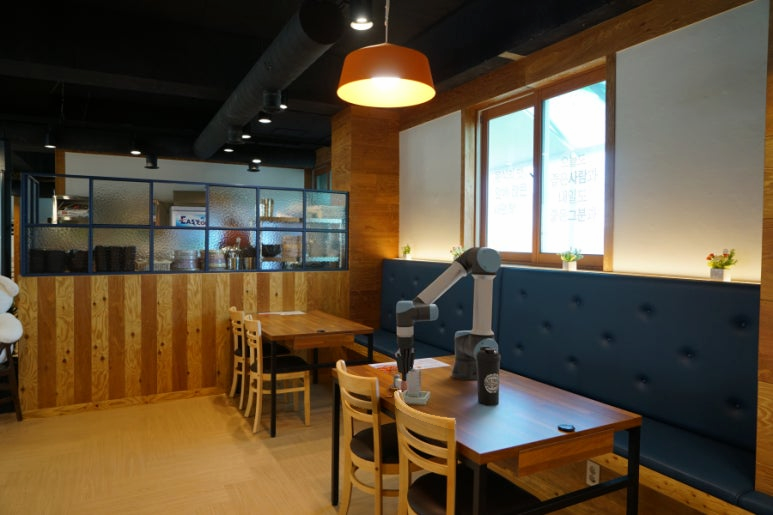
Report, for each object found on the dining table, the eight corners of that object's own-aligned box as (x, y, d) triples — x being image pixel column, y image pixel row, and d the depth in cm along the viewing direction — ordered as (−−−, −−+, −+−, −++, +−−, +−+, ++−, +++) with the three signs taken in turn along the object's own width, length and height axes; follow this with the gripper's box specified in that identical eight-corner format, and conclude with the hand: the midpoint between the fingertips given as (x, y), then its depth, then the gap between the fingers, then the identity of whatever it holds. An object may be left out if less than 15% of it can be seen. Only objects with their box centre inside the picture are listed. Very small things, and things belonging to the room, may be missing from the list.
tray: (405, 395, 225) (404, 390, 225) (429, 397, 222) (429, 391, 222) (399, 403, 214) (399, 397, 214) (425, 405, 211) (425, 398, 211)
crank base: (392, 386, 241) (391, 384, 241) (404, 386, 240) (404, 384, 240) (388, 389, 235) (388, 387, 235) (401, 390, 234) (401, 388, 234)
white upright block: (410, 397, 221) (410, 369, 221) (421, 397, 220) (420, 369, 219) (408, 400, 216) (408, 371, 216) (419, 400, 215) (418, 372, 215)
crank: (392, 384, 239) (392, 374, 238) (398, 384, 239) (398, 374, 239) (401, 392, 226) (401, 381, 226) (408, 391, 227) (408, 380, 227)
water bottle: (482, 407, 208) (482, 350, 207) (471, 400, 217) (471, 346, 217) (505, 405, 210) (505, 349, 210) (493, 398, 220) (493, 344, 220)
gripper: (408, 332, 239) (409, 383, 240) (389, 336, 230) (390, 389, 230) (420, 334, 234) (421, 386, 234) (401, 338, 224) (402, 392, 225)
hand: (405, 387), depth 232 cm, fingers closed
